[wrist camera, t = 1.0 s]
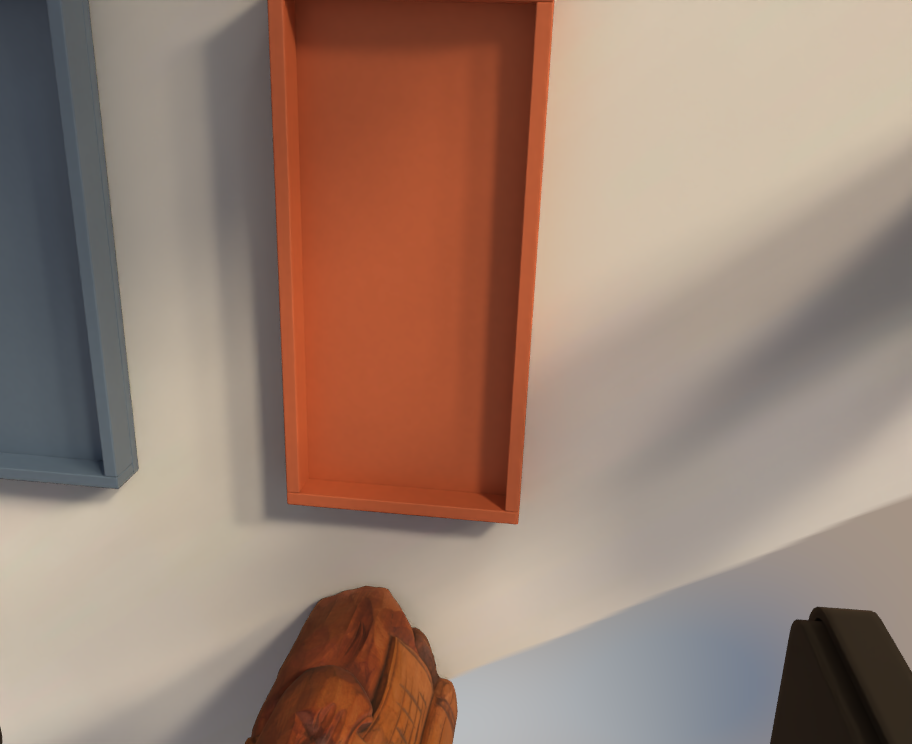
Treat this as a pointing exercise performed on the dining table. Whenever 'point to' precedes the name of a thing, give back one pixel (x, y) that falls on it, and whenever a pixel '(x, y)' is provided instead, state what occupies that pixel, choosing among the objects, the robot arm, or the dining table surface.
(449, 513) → the terracotta tray
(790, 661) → the robot arm
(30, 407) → the slate tray
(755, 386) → the dining table surface
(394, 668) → the wooden figurine
